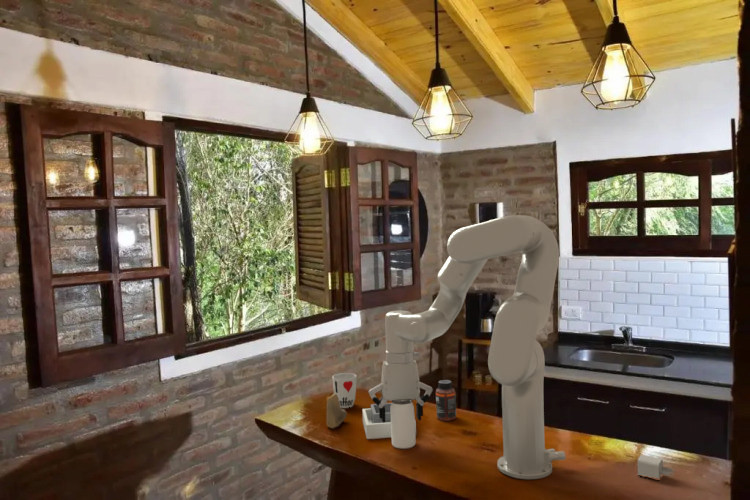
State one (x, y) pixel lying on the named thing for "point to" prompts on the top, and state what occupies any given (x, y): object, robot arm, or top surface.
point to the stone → (334, 412)
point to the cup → (345, 388)
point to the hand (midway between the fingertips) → (401, 419)
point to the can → (402, 424)
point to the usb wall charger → (652, 467)
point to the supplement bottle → (445, 401)
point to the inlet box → (377, 422)
